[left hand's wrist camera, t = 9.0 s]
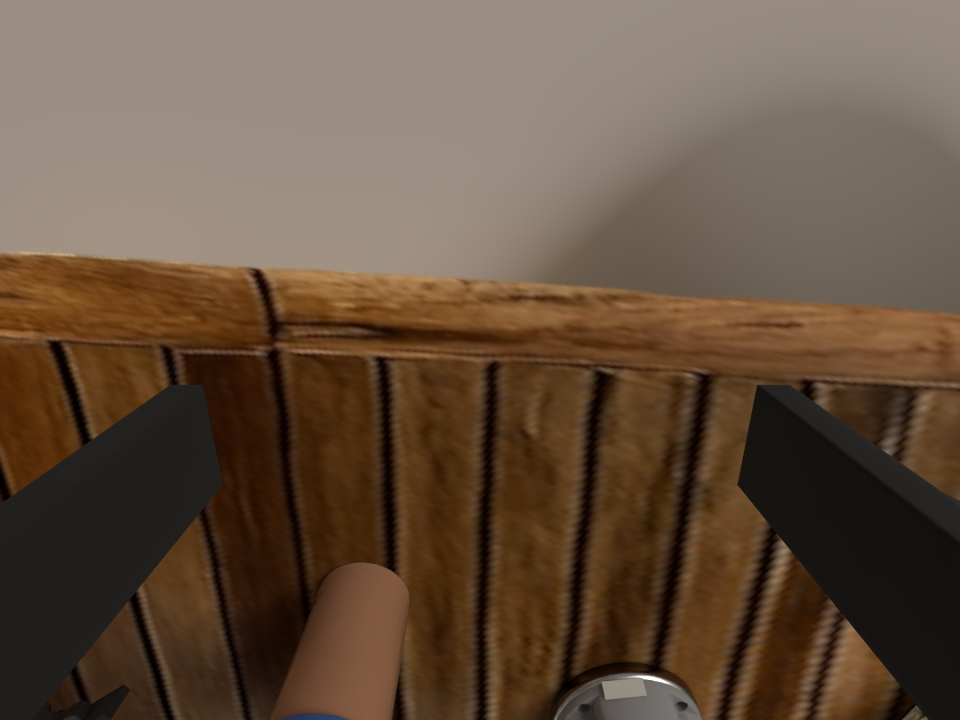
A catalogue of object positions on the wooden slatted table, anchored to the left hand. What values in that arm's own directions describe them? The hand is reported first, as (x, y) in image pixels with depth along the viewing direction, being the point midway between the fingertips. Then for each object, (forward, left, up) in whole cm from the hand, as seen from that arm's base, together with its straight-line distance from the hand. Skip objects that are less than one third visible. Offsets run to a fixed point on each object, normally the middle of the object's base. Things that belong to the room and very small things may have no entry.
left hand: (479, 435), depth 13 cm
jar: (-32, +12, -28) cm, 44 cm away
